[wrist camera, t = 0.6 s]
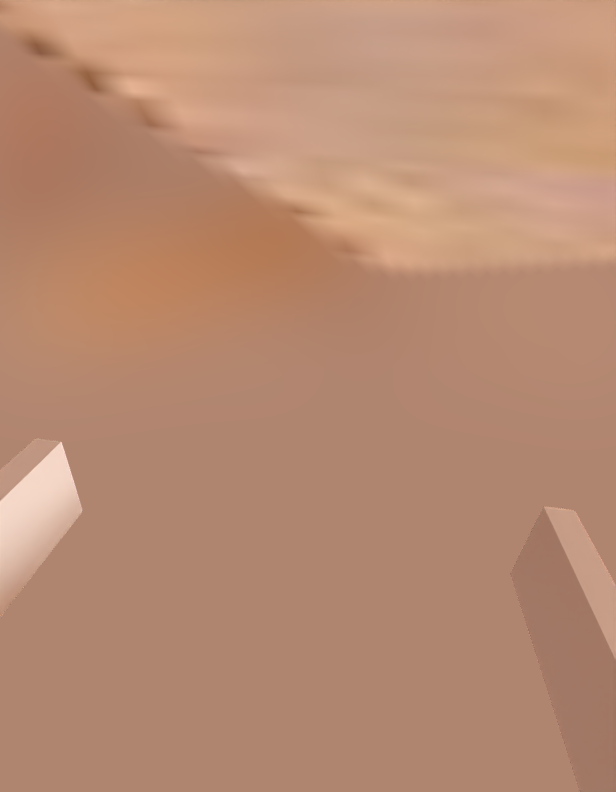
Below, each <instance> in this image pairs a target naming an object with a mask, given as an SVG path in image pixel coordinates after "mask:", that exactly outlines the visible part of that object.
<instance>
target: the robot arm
mask: <svg viewBox="0 0 616 792" xmlns="http://www.w3.org/2000/svg"><path fill="white" fill-rule="evenodd" d="M82 511H83V510H82V507H81V504H80V500H79V497H78V494H77V491H76V487H75V484H74V481H73V478H72V474H71V471H70V468H69V465H68V461H67V458H66V455H65V452H64V448H63V446H62V442H60V441H53V440H45V439H38V438H35V439H34V440H33V441H32V442H31V443H30V444H29V445H28V446H27V447H25V448H24V449H23V450H22V451H21V452H20V453H19V454H18V455H16V456H15V457H14V458H13V459H12V460H11V461H10V462H9V463H7V464H6V465H5V466H4V467H3V468H2V469H1V470H0V617H1V616H2V614H3V613H4V612H5V610H6V609H7V608H8V607H9V605H10V604H11V603H12V601H13V600H14V599H15V598H16V596H17V595H18V594H19V592H20V591H21V590H22V589H23V587H24V586H25V585H26V583H27V582H28V581H29V580H30V578H31V577H32V576H33V574H34V573H35V572H36V571H37V569H38V568H39V567H40V565H41V564H42V563H43V562H44V560H45V559H46V558H47V556H48V555H49V554H50V553H51V551H52V550H53V549H54V547H55V546H56V545H57V543H58V542H59V541H60V540H61V538H62V537H63V536H64V535H65V533H66V532H67V531H68V529H69V528H70V527H71V526H72V524H73V523H74V522H75V520H76V519H77V518H78V517H79V515H80V514H81V513H82ZM510 574H511V577H512V580H513V583H514V587H515V590H516V593H517V596H518V599H519V603H520V605H521V609H522V612H523V615H524V618H525V621H526V624H527V628H528V631H529V634H530V637H531V640H532V643H533V646H534V650H535V653H536V656H537V659H538V662H539V665H540V668H541V671H542V675H543V678H544V681H545V684H546V687H547V690H548V694H549V697H550V700H551V703H552V706H553V709H554V712H555V715H556V719H557V722H558V725H559V728H560V731H561V734H562V737H563V740H564V744H565V747H566V750H567V753H568V756H569V759H570V763H571V765H572V769H573V772H574V775H575V778H576V781H577V784H578V788H579V791H580V792H616V585H615V584H614V582H613V580H612V578H611V576H610V574H609V572H608V571H607V569H606V567H605V565H604V563H603V561H602V560H601V558H600V556H599V554H598V552H597V550H596V549H595V547H594V545H593V544H592V541H591V540H590V538H589V536H588V534H587V532H586V530H585V529H584V527H583V525H582V523H581V521H580V519H579V518H578V516H577V514H576V512H575V511H574V510H568V509H561V508H553V507H546V506H544V507H543V509H542V511H541V513H540V515H539V517H538V519H537V521H536V523H535V525H534V527H533V529H532V531H531V533H530V535H529V537H528V539H527V541H526V543H525V545H524V547H523V549H522V551H521V553H520V555H519V557H518V559H517V561H516V563H515V565H514V567H513V569H512V571H511V573H510Z"/></svg>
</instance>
